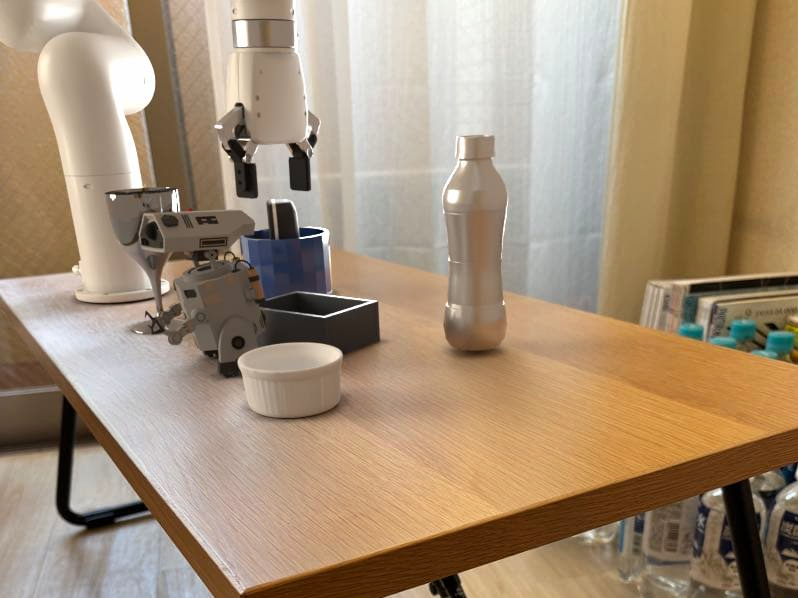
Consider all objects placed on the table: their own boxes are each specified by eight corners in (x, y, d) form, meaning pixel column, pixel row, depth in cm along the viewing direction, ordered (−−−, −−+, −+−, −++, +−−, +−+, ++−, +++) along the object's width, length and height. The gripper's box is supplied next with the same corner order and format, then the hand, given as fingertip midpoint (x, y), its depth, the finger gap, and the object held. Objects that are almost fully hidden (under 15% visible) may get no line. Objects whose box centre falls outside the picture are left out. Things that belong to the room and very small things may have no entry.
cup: (228, 300, 118) (220, 236, 114) (287, 284, 126) (282, 225, 123) (292, 308, 112) (286, 242, 108) (350, 291, 120) (346, 229, 116)
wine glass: (210, 320, 107) (192, 187, 101) (168, 336, 101) (146, 195, 94) (157, 316, 111) (136, 187, 104) (113, 331, 104) (88, 194, 97)
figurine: (147, 364, 91) (121, 208, 84) (257, 349, 95) (241, 199, 88) (160, 388, 84) (132, 219, 77) (280, 370, 87) (263, 208, 80)
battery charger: (305, 295, 116) (297, 202, 111) (275, 297, 115) (266, 203, 110) (302, 285, 122) (294, 196, 117) (274, 287, 122) (265, 197, 116)
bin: (327, 360, 90) (324, 317, 88) (245, 346, 96) (240, 305, 94) (380, 341, 96) (378, 300, 94) (299, 328, 102) (296, 290, 100)
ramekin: (356, 413, 75) (353, 363, 73) (250, 427, 73) (244, 375, 71) (333, 384, 82) (330, 338, 80) (237, 396, 80) (231, 348, 78)
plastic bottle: (513, 342, 94) (517, 133, 85) (497, 359, 88) (500, 137, 79) (454, 339, 96) (452, 134, 87) (435, 356, 90) (431, 138, 81)
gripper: (291, 42, 114) (298, 186, 122) (187, 38, 101) (203, 198, 109) (336, 41, 110) (341, 190, 118) (234, 36, 97) (247, 203, 105)
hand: (274, 194), depth 113 cm, fingers open, 9 cm apart
